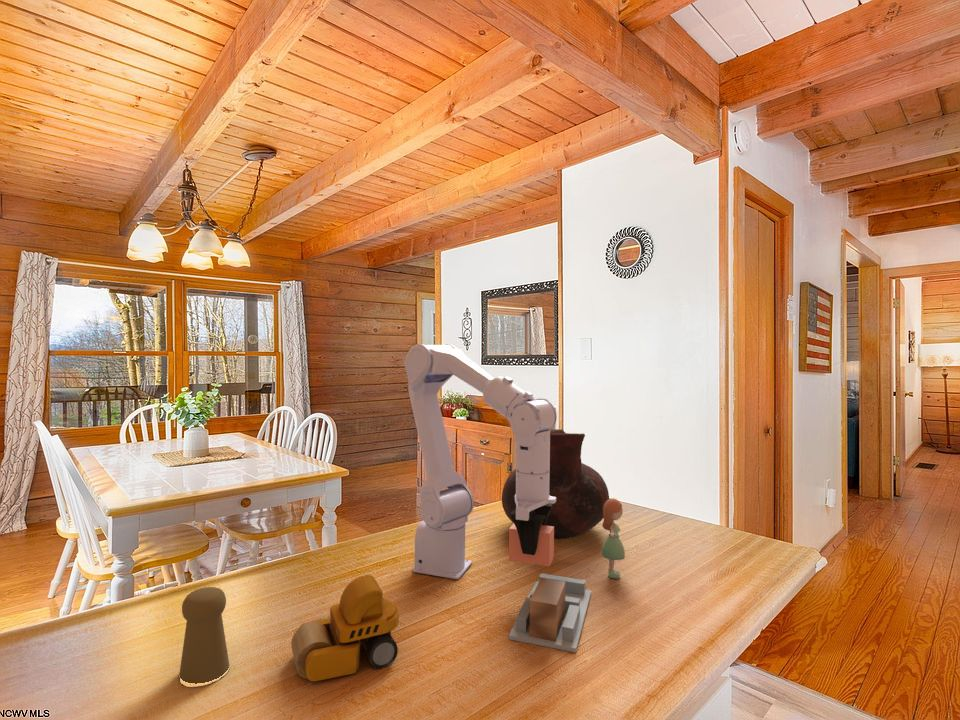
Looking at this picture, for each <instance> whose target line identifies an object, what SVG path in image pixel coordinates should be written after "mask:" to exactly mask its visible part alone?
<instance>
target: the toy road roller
mask: <svg viewBox="0 0 960 720" xmlns="http://www.w3.org/2000/svg"><path fill="white" fill-rule="evenodd" d="M383 595H384V593H383V590H382V588H381V587H380V585H379V583H378V582H377V580H376V578H375V577H374V576H373V575H371V574H365V575H360V576H358V577H356V578H354V579H353V580H351V582H349V583H348V584H347V585H346V587H345V588H344V590H343V592H342V593H341V596H340V599H339V603H338V604H333V605H332V606H330V608H329V617H330V618H324V619H318V620H312V621H307V622H303V623H302V624H301V625H300V626H299V627H298V629H297V630H296V631H295V632H294V633H293V635H292V638H291V644H290V645H291V651H292V656H293V660H294V665H295V668H296V671H297V673H298V675H299V676H300V677H301V678H303V679H305V680H309V681H310V682H318V681H323V680H329V679H334V678H338V677H342V676H343V677H344V676H348V675H353V674H355V673H356V672H357V670H358V669H359V667H360V659H361V643H362V645H363V648H364V650H365V652H366V657H367V660H368V661H369V663H370V665H371V666H372V667H373V668H375V669H378V670H382V669H384V668H388V667H389V666H391V665H392V664H393V663H394V662H395V660H396V659H397V656H398V653H399V648H398V645H397V642H396V641H395V640H394V638H393V636H392V631H394V630H395V629H396V628H397V627H398V626H399V623H400V622H399V621H400V611H399V607H398V606H397V605H396V604H395V603H394V602H392V601H391V600H390V599H387V598H385V597H384V596H383Z"/></svg>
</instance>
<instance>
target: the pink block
mask: <svg viewBox="0 0 960 720" xmlns="http://www.w3.org/2000/svg"><path fill="white" fill-rule="evenodd" d="M512 523H513V522H512ZM508 531H509V532H508V533H509V535H508V561H512V562H518V563H526V564H531V565H538V566H546V567H550V566H551V564H552V562H553V561H554V558H555V557H554V556H555V551H554V550H555V539H554V527H553V526H545V525H541V528H540V532H539V537H538V544H537V549H536V553H535V555H529V554H523V553H522V549H521V544H520V539H519V535H518V531H517V529H516V526H515V524H514V523H513V524H512V525H511V526H510V527H509V528H508Z"/></svg>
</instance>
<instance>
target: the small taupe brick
mask: <svg viewBox="0 0 960 720" xmlns="http://www.w3.org/2000/svg"><path fill="white" fill-rule="evenodd" d="M538 582H539V583H538V585H537V587H536V589H535V591H534V593H533V595H532V597H531V599H530V626H529V637H534V638H539V639H544V640H549V641H554V642H556V640H557V637H558V634H559V631H560V628H561V625H562V622H563V620H564V617H565V589H566V582H564V581H557V580H551V579H545V578H541V579H540V581H539V580H538Z"/></svg>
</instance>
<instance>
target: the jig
mask: <svg viewBox="0 0 960 720" xmlns="http://www.w3.org/2000/svg"><path fill="white" fill-rule="evenodd" d="M541 578H545V579H551V580H557V581H564V582H566V589H565V617H564V620H563V622H562V625H561V628H560V631H559V634H558V637H557V640H556V642H554V641H549V640H544V639H539V638H534V637H529V626H530V599H531V597H532V595H533V593H534V591H535V589H536V587H537V585H538V583H539V581H540V579H541ZM591 596H592V590H591V589H587V588H586V579H579V578H573V577H567V576H561V575H554V574H549V573H542V572H541V573H540V574H539V577H538V581H535V583H534V585H533V587H532V589H531V591H530V593H529V595H528V597H526V598H525V600H524V602H523V603H522V605H521V607H520V609H519V611H518V613H517V615H516V616H515V623H514V624H513V626H512V628H511V630H510V633H508V634H509V635H508V640H510V641H516V642H521V643H526V644H531V645H535V646H536V645H537V646H541V647H546V648H551V649H555V650H561V651H562V650H563V651H566V652H572V653H577V650H578V646H579V641H580V638H581V634H582V630H583V627H584V623H585V619H586V615H587V613H588V612H587V611H588V609H589V604H590V600H591Z"/></svg>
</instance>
